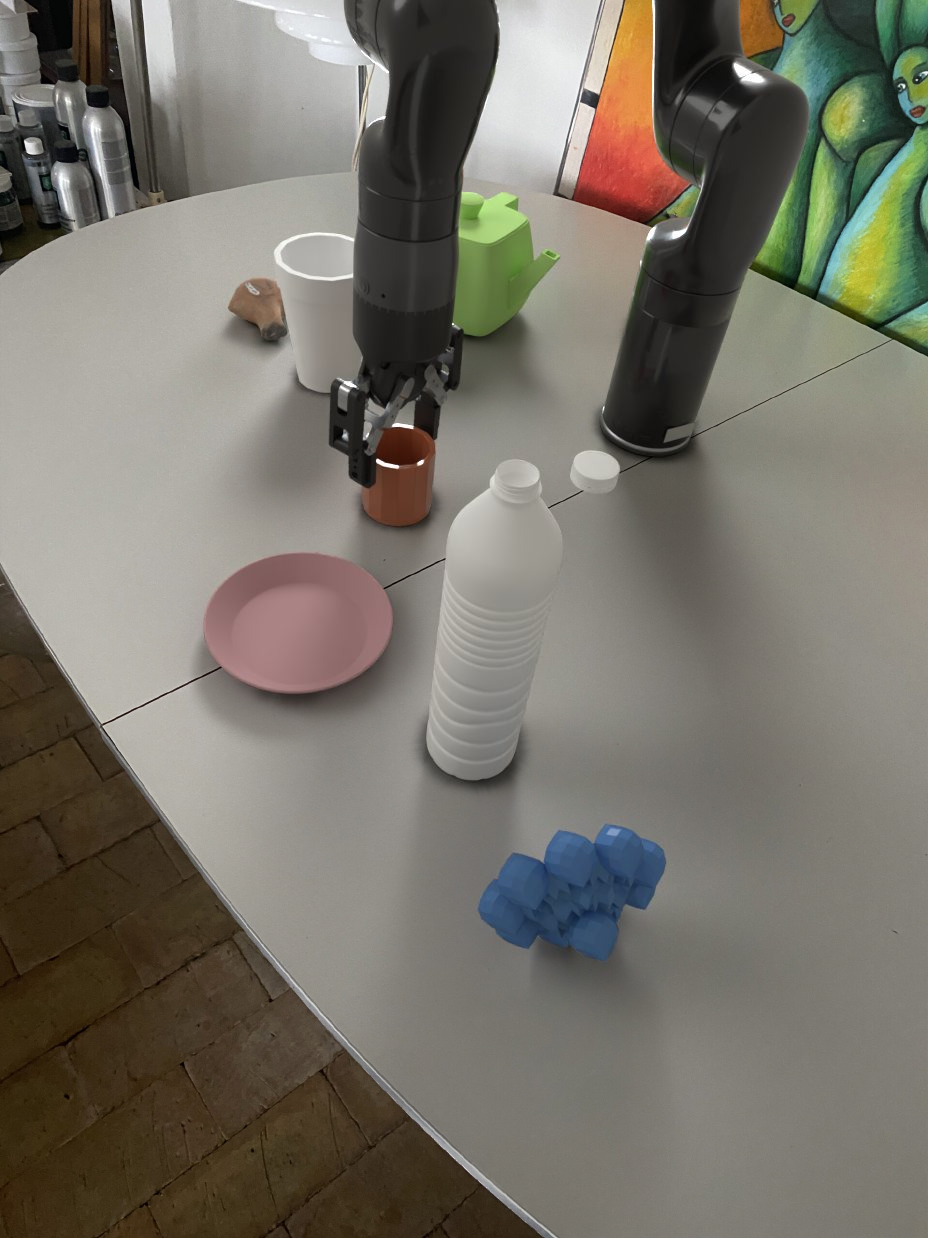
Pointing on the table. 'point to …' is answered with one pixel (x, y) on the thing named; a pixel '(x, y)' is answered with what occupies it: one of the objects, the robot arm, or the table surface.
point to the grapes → (574, 890)
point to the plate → (298, 622)
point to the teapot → (494, 263)
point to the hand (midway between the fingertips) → (395, 459)
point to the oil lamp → (261, 306)
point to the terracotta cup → (402, 477)
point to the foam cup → (319, 306)
